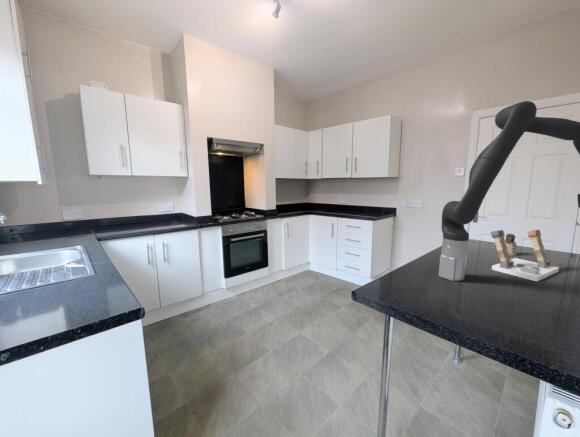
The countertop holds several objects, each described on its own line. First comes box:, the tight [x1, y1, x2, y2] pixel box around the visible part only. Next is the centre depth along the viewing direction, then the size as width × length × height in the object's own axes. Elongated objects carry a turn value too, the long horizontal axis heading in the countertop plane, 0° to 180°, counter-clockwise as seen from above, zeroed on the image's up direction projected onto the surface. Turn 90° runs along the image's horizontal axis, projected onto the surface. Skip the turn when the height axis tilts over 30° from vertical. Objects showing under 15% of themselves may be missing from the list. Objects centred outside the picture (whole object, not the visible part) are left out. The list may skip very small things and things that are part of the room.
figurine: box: [505, 233, 518, 257], centre depth 140 cm, size 7×7×12 cm
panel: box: [491, 257, 560, 282], centre depth 115 cm, size 24×16×4 cm, turn 118°
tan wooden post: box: [490, 229, 512, 266], centre depth 115 cm, size 6×3×17 cm, turn 118°
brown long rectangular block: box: [526, 229, 550, 266], centre depth 116 cm, size 6×3×17 cm, turn 118°
